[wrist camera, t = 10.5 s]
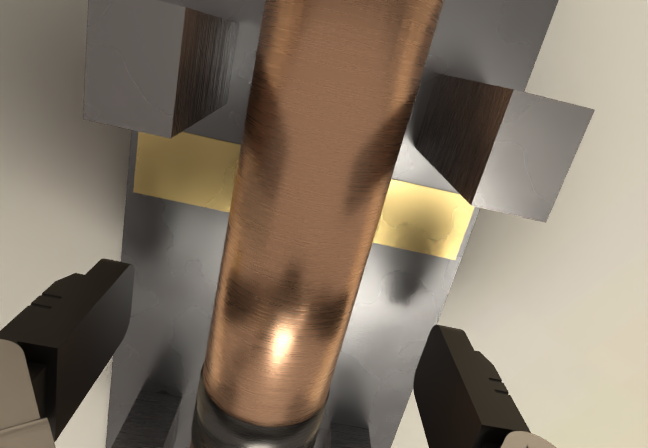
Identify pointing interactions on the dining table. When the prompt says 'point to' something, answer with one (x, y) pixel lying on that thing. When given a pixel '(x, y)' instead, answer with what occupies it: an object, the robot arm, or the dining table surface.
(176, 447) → the tube holder
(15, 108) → the dining table surface
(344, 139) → the copper tube
